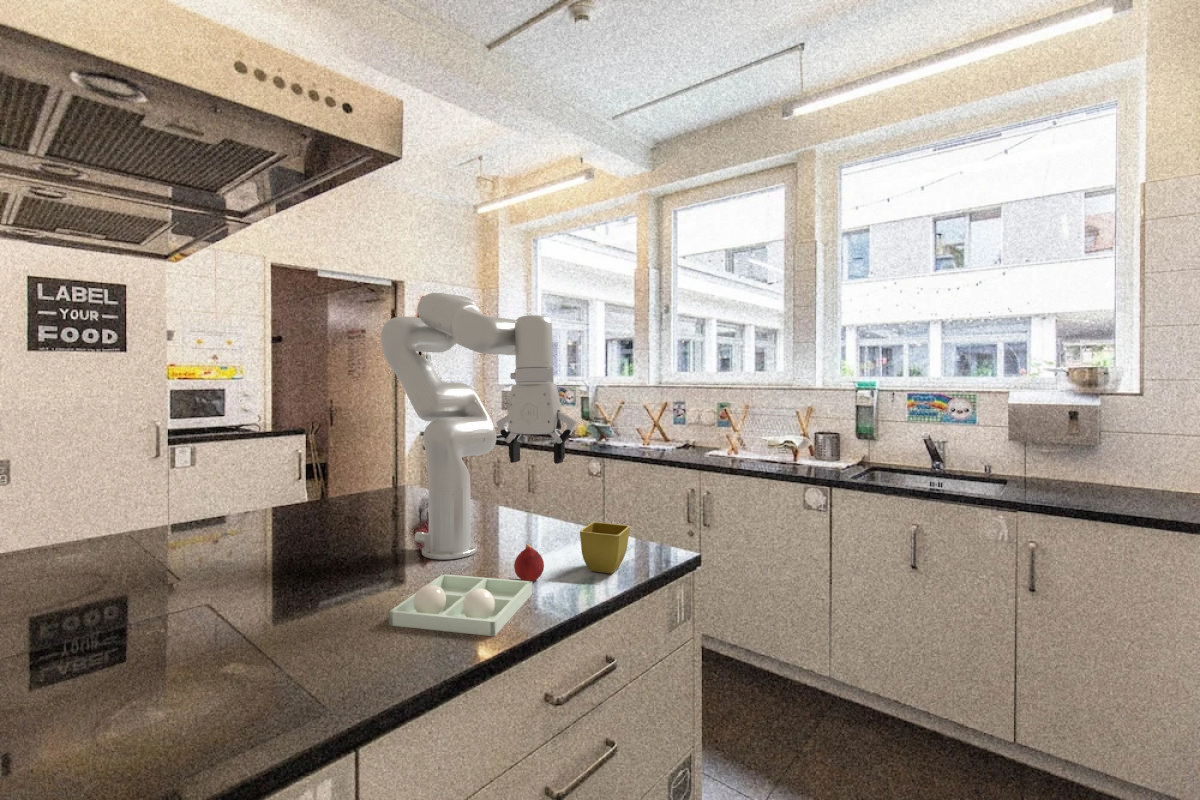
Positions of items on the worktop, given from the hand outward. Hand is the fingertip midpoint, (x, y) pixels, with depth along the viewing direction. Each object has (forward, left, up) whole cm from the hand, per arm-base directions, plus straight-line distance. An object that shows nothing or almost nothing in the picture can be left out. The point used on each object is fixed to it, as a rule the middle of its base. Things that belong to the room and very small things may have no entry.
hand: (536, 462), depth 115 cm
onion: (-1, -3, -24) cm, 24 cm away
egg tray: (-7, -19, -24) cm, 31 cm away
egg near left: (-11, -23, -23) cm, 34 cm away
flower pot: (+12, +9, -24) cm, 29 cm away
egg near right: (-2, -23, -23) cm, 33 cm away
